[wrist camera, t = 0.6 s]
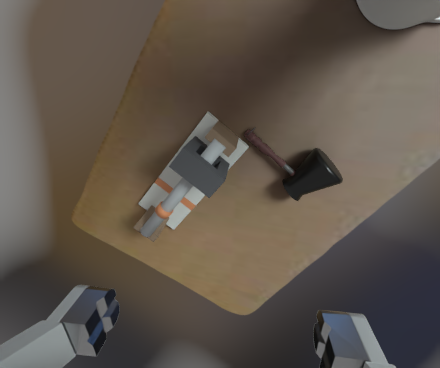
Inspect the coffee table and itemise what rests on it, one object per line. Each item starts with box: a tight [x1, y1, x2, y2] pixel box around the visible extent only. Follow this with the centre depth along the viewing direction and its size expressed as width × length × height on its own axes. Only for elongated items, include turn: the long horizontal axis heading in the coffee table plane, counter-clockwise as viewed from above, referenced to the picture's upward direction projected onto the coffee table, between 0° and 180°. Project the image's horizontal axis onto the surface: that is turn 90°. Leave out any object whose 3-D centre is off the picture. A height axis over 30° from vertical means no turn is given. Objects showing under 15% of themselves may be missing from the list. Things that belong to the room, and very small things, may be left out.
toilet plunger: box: [244, 127, 343, 201], centre depth 42 cm, size 8×18×8 cm
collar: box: [169, 136, 230, 198], centre depth 39 cm, size 4×8×8 cm, turn 51°
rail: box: [133, 111, 249, 242], centre depth 45 cm, size 26×10×10 cm, turn 141°
